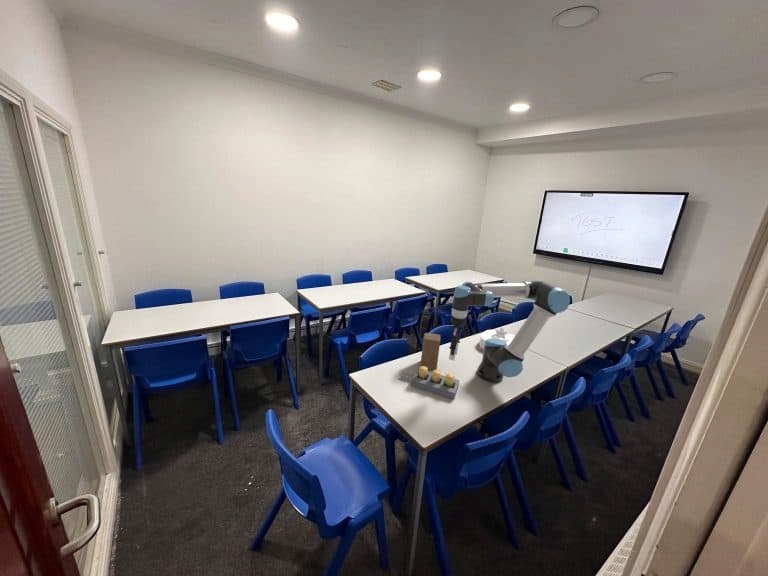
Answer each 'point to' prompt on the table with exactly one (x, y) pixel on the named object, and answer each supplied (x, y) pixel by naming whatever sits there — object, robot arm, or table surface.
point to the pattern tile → (406, 377)
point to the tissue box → (496, 336)
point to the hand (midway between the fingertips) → (453, 356)
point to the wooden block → (430, 351)
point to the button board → (435, 385)
